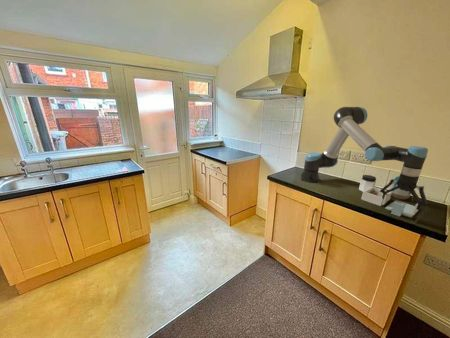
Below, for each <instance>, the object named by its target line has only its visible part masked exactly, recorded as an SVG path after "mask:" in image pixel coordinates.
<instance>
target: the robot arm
mask: <svg viewBox="0 0 450 338" xmlns="http://www.w3.org/2000/svg"><path fill="white" fill-rule="evenodd" d="M367 119H368V111H367V109H366V108H364V107H362V106H342V107H340V108H338V109H337V110H336V111H335V112H334V114H333V122H334V124H335V125H336V126H337V127H338V129H337V131H336V133H335V134H334V137H332V140H331V141H330V143H329V145H328V146H327V149H324V150H323V151H322V153H320V152H314V151H313V152H308V153H307V154H305V158H304V165H303V171H302V173H301V175H300V180H302V181H303V182H307V183H319V182H320V174H319V169H321V168H322V169H325V168H327V169H328V168H334V167H335V166H336V165H337V164H338V159H339V157H338V153H339V152H340V150H341V149H342V147H343V145H344V144H345V142H347V139H348V138H349V136H350V138H352V140H353V141H354V142H355V143H356V144H357V145H358V146H359V147H360V148H361V149H362V150H363V151H364V156H365V158H366V160H368V161H371V162H381V161H398V162H402V163H403V165H402V168H401V171H400V174H399V180H398V181H396V180H394V179H395V178H392V179H390V181H389V182H388V183H387V184H386V185H385V186H384V187H383V188H380V189H381V190H380V192H382V193H383V196H382V199H384V200H383V203H382V204H383V205H382V206H385V205H386V203H387V202H386V200H387V197H388V194H387V193H389V192H391V191H393V190H396V189H398V188H399V189H400V190H404V191H407V192H408V191H409V192H410V193H411V195H412V197H413V199H414V200H415V202H416V203H415V205H414V206H415V208H414V210H413V213H412V215H413V216H415V215H416V214H417V212H416V210H418V211H420V210H421V207H422V206H427V205H428V200H427V198H426V194H425V186H423V185H418V181H419V178H420V177H419V176H421V173H422V171H423V167H424V164H425V161H426V158H428V152H429V149H428V148H427V147H425V146H418V145H411V146H409V147H408V148H405V147H399V146H396V145H386V146H384V147H383V146H382V145H381V144H380V143H378V142H377V141H376V140H375V139H374V138H373V137H372V136H371V135H370V134H369V133H368V132H366V130H365V129H363V127H361V126H360V125H361V124H364V123H365V122H366V121H367ZM394 183H396V184H397V185H398V186H396V187H394V188H392V187H391V188H392V189H391V188H390V189H388V188H389V187H390V186H392V184H394ZM387 189H388V190H387ZM415 189H417V190H418V192H419V195H420V196H419V195H418V194H417V192H416V190H415ZM384 190H387V191H384Z"/></svg>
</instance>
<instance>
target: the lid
mask: <svg viewBox="0 0 450 338" xmlns="http://www.w3.org/2000/svg"><path fill="white" fill-rule="evenodd" d="M414 208H415V205H413V204H409V203H406V202H402V201H400V200H398V199H397V200H394V201H393V202H391V203H389V204H388V205H387V206H386V207H385V210H387V211H391V213H390V214H392V215H395V216H397V217H401V216H404V217H408V218H413V216H414V215H412V213H413V210H414ZM417 212H419V210H416V213H417Z"/></svg>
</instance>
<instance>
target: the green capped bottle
mask: <svg viewBox="0 0 450 338" xmlns="http://www.w3.org/2000/svg"><path fill="white" fill-rule="evenodd" d="M399 176H400V175H399ZM399 176H395V178H393V179H394V180H396V181H398V180H399ZM396 186H398V185H397V184H396V183H394V184H392V185H391V188H390V189H392V188H394V187H396ZM391 192H392V194H391V197H393V198H394V199H397V200H403V201H405V200H408V199H409V198H410V197H411V195H412V194H411V193H410V192H409V191H408V192H407V191H404V190H400V189H399V188H398V189H396V190H393V191H391Z"/></svg>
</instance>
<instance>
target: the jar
mask: <svg viewBox="0 0 450 338" xmlns="http://www.w3.org/2000/svg"><path fill="white" fill-rule="evenodd" d="M376 181H377V177H376V176H373V175H371V174H363V175H362V177H361V180H360V183H359V186H358V187H359V188H358V190H359V191H361V192H362V193H363V191H365V190H367V189H369V188H371V187H376Z"/></svg>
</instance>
